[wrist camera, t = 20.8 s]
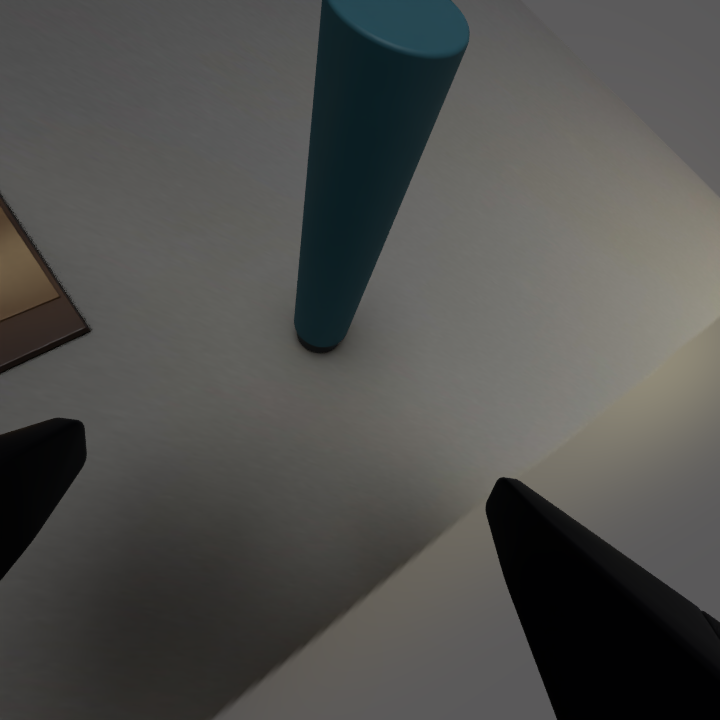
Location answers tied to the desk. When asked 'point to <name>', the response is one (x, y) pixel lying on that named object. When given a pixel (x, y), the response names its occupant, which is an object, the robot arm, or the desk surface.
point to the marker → (366, 144)
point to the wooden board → (30, 299)
